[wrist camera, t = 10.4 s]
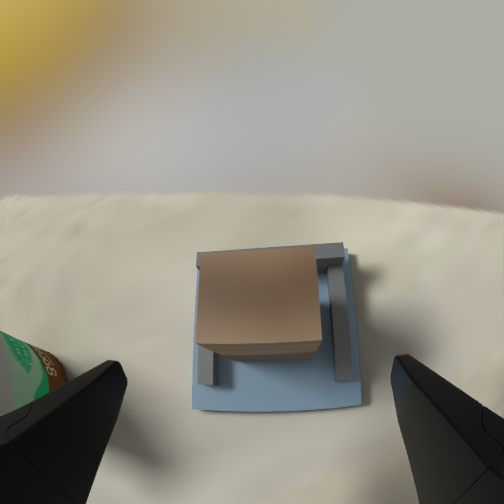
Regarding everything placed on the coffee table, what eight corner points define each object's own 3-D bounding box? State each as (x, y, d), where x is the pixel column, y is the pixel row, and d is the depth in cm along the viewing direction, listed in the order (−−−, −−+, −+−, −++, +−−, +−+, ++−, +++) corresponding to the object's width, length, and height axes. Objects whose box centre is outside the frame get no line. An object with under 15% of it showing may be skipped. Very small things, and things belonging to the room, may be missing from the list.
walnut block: (312, 358, 18) (321, 339, 11) (235, 361, 19) (195, 343, 12) (309, 299, 20) (314, 246, 13) (235, 303, 20) (200, 253, 13)
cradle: (359, 404, 17) (370, 407, 14) (195, 408, 18) (178, 410, 15) (345, 253, 22) (352, 231, 19) (201, 262, 23) (187, 243, 20)
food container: (102, 373, 20) (6, 350, 11) (82, 435, 18) (-12, 436, 9) (24, 318, 23) (-49, 283, 15) (8, 369, 21) (-66, 346, 12)
